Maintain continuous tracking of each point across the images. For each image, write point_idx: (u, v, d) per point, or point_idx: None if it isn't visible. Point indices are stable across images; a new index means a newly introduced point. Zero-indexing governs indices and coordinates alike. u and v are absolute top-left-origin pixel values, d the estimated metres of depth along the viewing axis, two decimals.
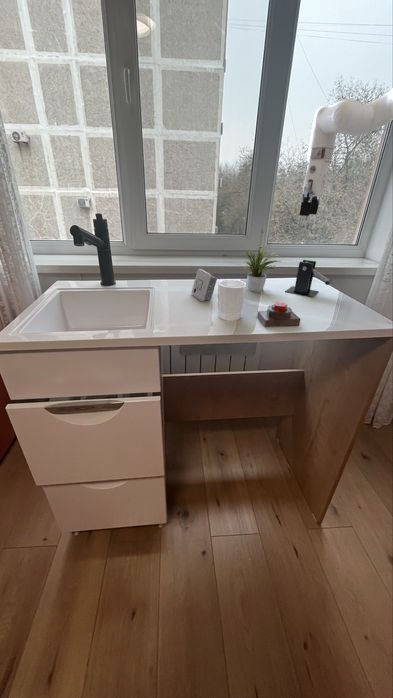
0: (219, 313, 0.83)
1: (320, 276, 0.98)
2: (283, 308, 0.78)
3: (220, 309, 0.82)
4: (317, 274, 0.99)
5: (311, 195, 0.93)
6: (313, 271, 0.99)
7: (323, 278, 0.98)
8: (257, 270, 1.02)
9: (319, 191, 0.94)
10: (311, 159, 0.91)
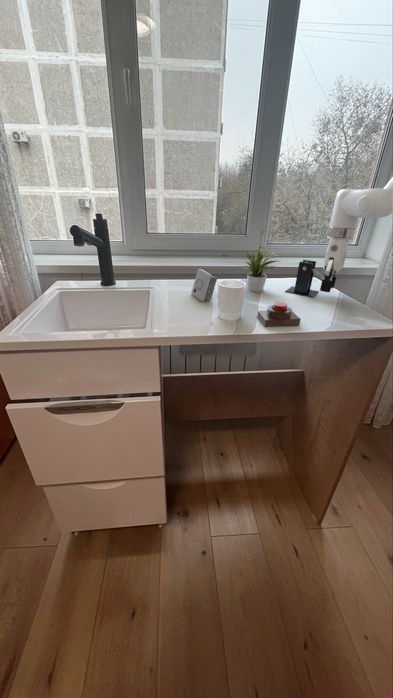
0: (219, 313, 0.83)
1: (320, 276, 0.98)
2: (283, 308, 0.78)
3: (220, 309, 0.82)
4: (317, 274, 0.99)
5: (332, 274, 0.93)
6: (313, 271, 0.99)
7: None
8: (257, 270, 1.02)
9: (340, 267, 0.92)
10: (332, 237, 0.89)
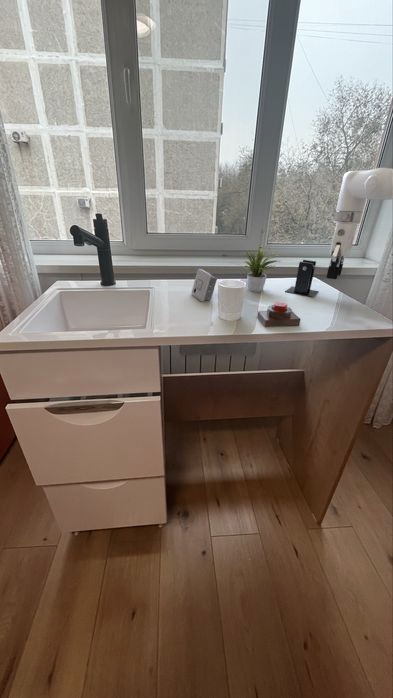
0: (219, 313, 0.83)
1: (323, 268, 0.97)
2: (283, 308, 0.78)
3: (220, 309, 0.82)
4: (320, 268, 0.97)
5: (339, 260, 0.90)
6: (315, 267, 0.98)
7: (327, 269, 0.96)
8: (257, 270, 1.02)
9: (347, 253, 0.90)
10: (339, 222, 0.87)
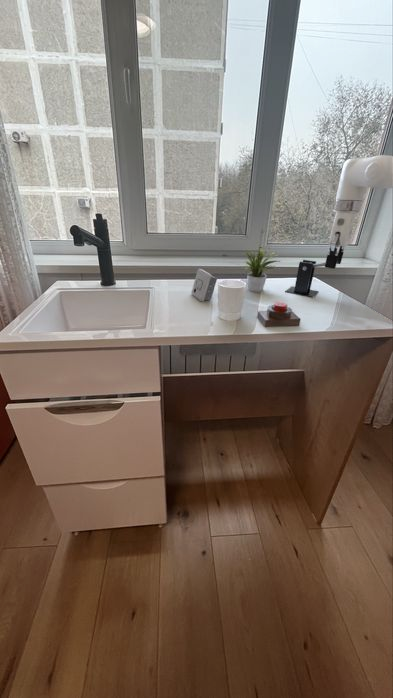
0: (219, 313, 0.83)
1: (324, 264, 0.96)
2: (283, 308, 0.78)
3: (220, 309, 0.82)
4: (320, 265, 0.97)
5: (338, 248, 0.88)
6: (315, 265, 0.98)
7: None
8: (257, 270, 1.02)
9: (346, 243, 0.89)
10: (339, 211, 0.86)
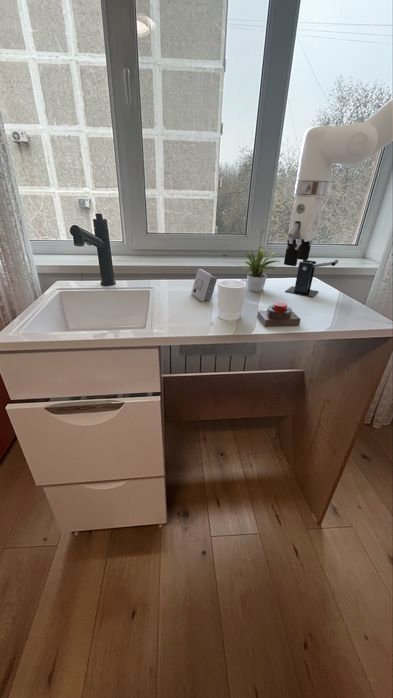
0: (219, 313, 0.83)
1: (324, 264, 0.96)
2: (283, 308, 0.78)
3: (220, 309, 0.82)
4: (320, 265, 0.97)
5: (299, 241, 0.71)
6: (315, 265, 0.98)
7: (328, 263, 0.96)
8: (257, 270, 1.02)
9: (309, 235, 0.71)
10: (299, 195, 0.68)
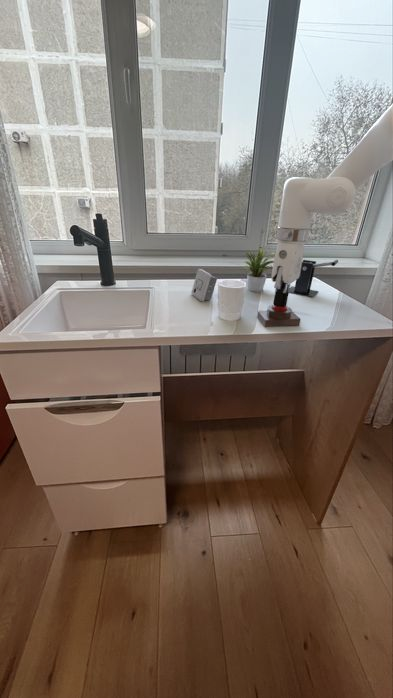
0: (219, 313, 0.83)
1: (324, 264, 0.96)
2: (283, 310, 0.79)
3: (220, 309, 0.82)
4: (320, 265, 0.97)
5: (285, 287, 0.75)
6: (315, 265, 0.98)
7: (328, 263, 0.96)
8: (257, 270, 1.02)
9: (292, 278, 0.73)
10: (281, 241, 0.70)
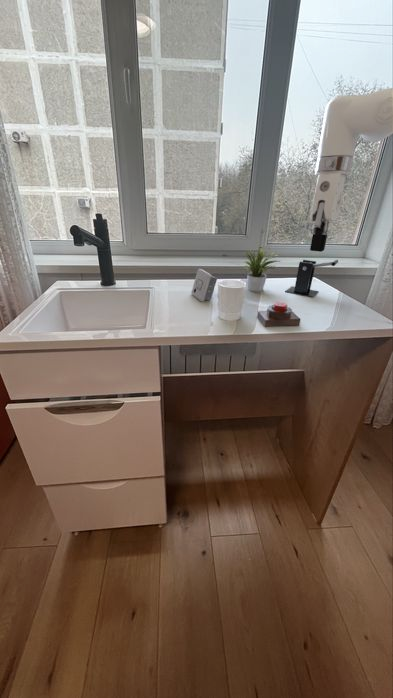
0: (219, 313, 0.83)
1: (324, 264, 0.96)
2: (283, 308, 0.78)
3: (220, 309, 0.82)
4: (320, 265, 0.97)
5: (324, 227, 0.69)
6: (315, 265, 0.98)
7: (328, 263, 0.96)
8: (257, 270, 1.02)
9: (334, 215, 0.67)
10: (322, 172, 0.64)
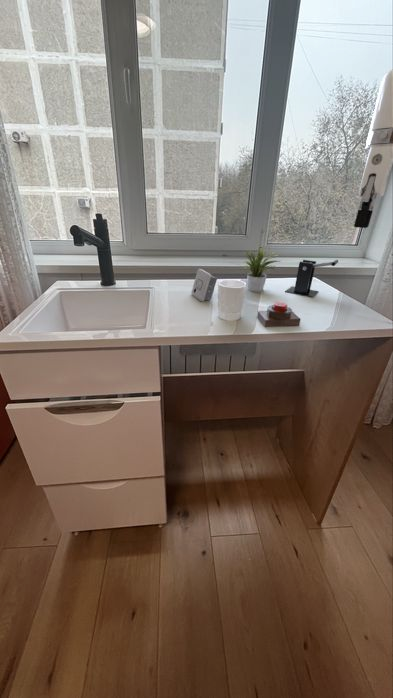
0: (219, 313, 0.83)
1: (324, 264, 0.96)
2: (283, 308, 0.78)
3: (220, 309, 0.82)
4: (320, 265, 0.97)
5: (372, 202, 0.70)
6: (315, 265, 0.98)
7: (328, 263, 0.96)
8: (257, 270, 1.02)
9: (383, 190, 0.68)
10: (374, 145, 0.64)
